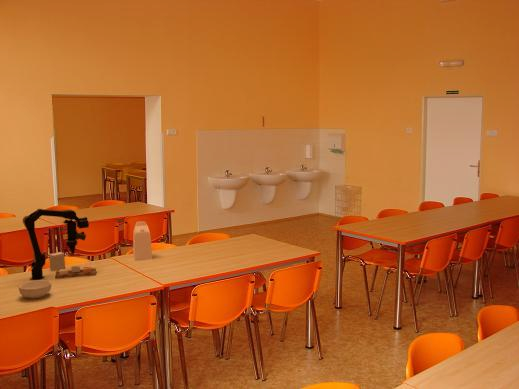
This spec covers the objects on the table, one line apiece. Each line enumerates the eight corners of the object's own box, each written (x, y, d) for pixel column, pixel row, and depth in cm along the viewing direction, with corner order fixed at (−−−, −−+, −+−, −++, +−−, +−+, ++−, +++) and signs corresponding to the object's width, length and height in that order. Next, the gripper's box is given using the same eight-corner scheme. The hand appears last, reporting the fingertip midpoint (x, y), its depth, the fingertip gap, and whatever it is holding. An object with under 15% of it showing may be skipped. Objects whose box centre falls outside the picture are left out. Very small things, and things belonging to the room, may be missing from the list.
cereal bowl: (12, 299, 302) (11, 287, 301) (34, 290, 317) (34, 278, 316) (37, 302, 296) (36, 289, 295) (58, 293, 311) (57, 281, 310)
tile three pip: (83, 273, 347) (83, 268, 346) (83, 271, 352) (83, 267, 351) (91, 272, 348) (91, 268, 348) (91, 270, 353) (91, 266, 353)
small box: (61, 267, 368) (59, 251, 367) (65, 268, 365) (64, 253, 363) (49, 269, 362) (48, 254, 361) (54, 271, 358) (53, 255, 357)
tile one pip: (59, 275, 343) (59, 271, 343) (60, 273, 348) (60, 269, 348) (68, 274, 344) (67, 270, 344) (68, 272, 349) (68, 268, 349)
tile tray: (55, 278, 340) (55, 275, 340) (56, 274, 350) (56, 271, 350) (95, 275, 347) (95, 272, 346) (96, 271, 356) (95, 268, 356)
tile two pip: (71, 272, 345) (71, 268, 344) (71, 270, 350) (71, 266, 349) (79, 271, 346) (79, 267, 346) (80, 269, 351) (79, 265, 351)
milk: (150, 255, 396) (148, 219, 392) (152, 258, 385) (150, 222, 381) (133, 256, 392) (131, 221, 388) (135, 260, 381) (133, 223, 378)
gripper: (84, 231, 343) (86, 255, 345) (85, 226, 361) (87, 249, 363) (65, 232, 340) (67, 257, 343) (67, 227, 358) (69, 250, 360)
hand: (73, 253), depth 352 cm, fingers closed
